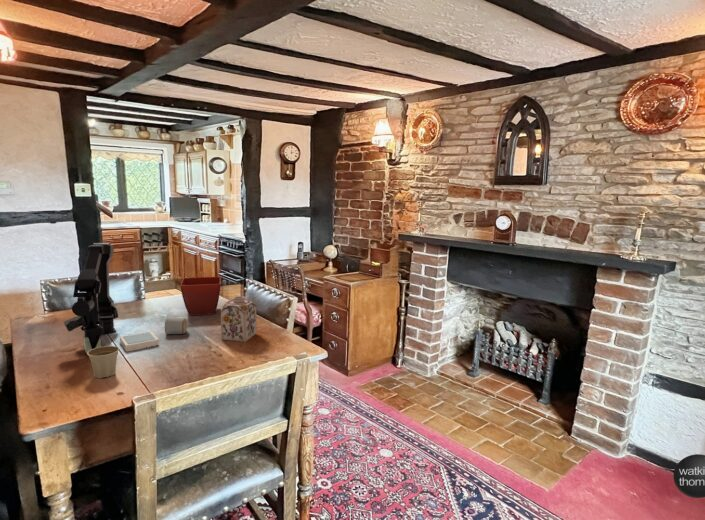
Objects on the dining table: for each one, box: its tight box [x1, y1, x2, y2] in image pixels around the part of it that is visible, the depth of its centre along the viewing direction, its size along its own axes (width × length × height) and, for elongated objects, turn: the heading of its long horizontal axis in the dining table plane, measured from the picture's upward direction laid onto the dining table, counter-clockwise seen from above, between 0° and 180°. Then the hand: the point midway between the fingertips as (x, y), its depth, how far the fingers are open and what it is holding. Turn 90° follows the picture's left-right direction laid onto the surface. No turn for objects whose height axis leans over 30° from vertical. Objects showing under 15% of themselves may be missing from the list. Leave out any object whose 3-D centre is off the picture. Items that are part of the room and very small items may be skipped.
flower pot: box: [86, 345, 120, 379], centre depth 142 cm, size 9×9×9 cm
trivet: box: [119, 330, 160, 352], centre depth 171 cm, size 12×12×3 cm
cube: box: [82, 336, 102, 354], centre depth 163 cm, size 5×5×5 cm
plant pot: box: [179, 276, 222, 316], centre depth 216 cm, size 19×19×17 cm
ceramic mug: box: [164, 316, 188, 335], centre depth 185 cm, size 11×8×8 cm
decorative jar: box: [220, 295, 258, 343], centre depth 181 cm, size 12×12×18 cm
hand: (92, 346), depth 164 cm, fingers closed on cube, 5 cm apart
